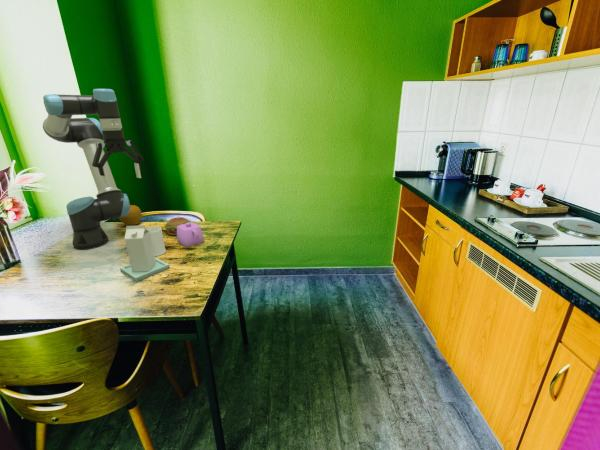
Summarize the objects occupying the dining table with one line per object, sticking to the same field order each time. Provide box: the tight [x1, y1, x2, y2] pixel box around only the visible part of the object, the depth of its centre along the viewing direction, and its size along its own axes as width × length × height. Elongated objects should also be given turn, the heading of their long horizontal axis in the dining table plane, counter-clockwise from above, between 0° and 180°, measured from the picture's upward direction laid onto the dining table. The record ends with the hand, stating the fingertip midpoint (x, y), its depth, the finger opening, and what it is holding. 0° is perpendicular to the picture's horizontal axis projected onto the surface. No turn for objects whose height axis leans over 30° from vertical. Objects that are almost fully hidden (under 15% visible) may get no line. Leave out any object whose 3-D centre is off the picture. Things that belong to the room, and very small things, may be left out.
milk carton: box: [124, 225, 156, 272], centre depth 125 cm, size 7×7×19 cm
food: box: [164, 216, 192, 236], centre depth 168 cm, size 14×14×8 cm
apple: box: [118, 204, 142, 226], centre depth 180 cm, size 13×13×11 cm
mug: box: [145, 225, 167, 257], centre depth 141 cm, size 12×8×12 cm
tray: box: [119, 256, 171, 283], centre depth 128 cm, size 14×14×2 cm
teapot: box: [176, 221, 204, 248], centre depth 155 cm, size 18×10×10 cm, turn 44°
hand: (123, 180), depth 133 cm, fingers open, 13 cm apart
